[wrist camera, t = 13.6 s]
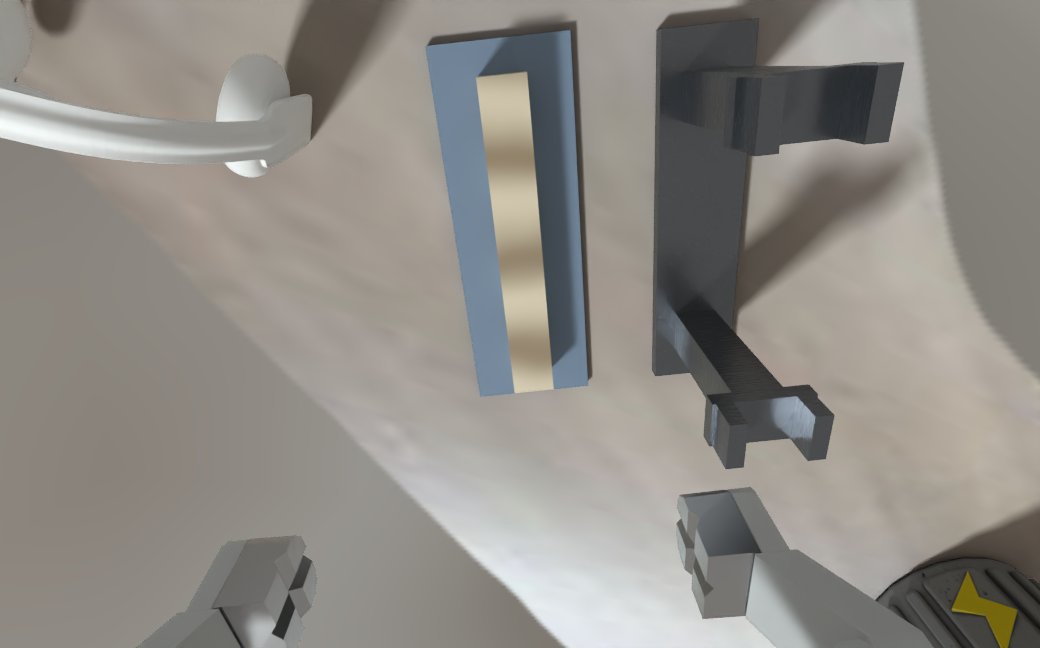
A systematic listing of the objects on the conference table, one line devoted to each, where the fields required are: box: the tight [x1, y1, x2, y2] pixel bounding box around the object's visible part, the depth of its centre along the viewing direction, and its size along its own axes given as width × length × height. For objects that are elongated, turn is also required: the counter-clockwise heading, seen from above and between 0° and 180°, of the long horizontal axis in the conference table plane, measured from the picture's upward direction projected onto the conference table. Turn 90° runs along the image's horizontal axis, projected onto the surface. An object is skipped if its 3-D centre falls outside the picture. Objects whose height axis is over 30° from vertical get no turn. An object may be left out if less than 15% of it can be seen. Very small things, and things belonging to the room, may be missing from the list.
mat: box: [425, 30, 588, 397], centre depth 39 cm, size 26×9×1 cm, turn 6°
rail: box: [476, 72, 554, 393], centre depth 37 cm, size 22×3×3 cm, turn 6°
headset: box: [0, 0, 312, 177], centre depth 26 cm, size 20×7×18 cm, turn 72°
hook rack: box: [652, 18, 904, 469], centre depth 32 cm, size 25×6×15 cm, turn 6°
